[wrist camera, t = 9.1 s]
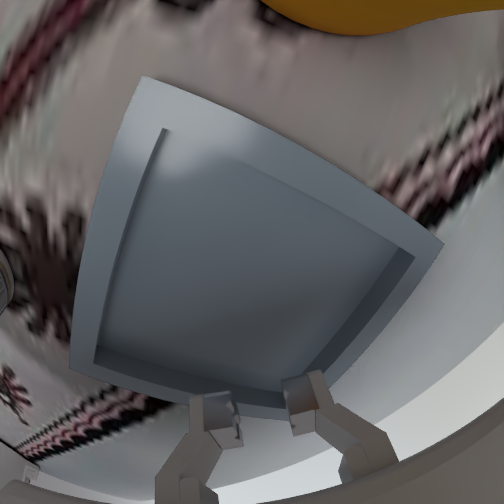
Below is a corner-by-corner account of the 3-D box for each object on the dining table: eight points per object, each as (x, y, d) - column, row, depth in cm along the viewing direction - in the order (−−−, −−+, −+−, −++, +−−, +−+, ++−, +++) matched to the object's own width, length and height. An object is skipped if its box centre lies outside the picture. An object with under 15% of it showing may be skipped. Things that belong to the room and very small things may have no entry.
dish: (288, 400, 21) (293, 421, 19) (77, 345, 16) (69, 368, 14) (424, 228, 15) (444, 244, 13) (153, 80, 10) (142, 75, 8)
